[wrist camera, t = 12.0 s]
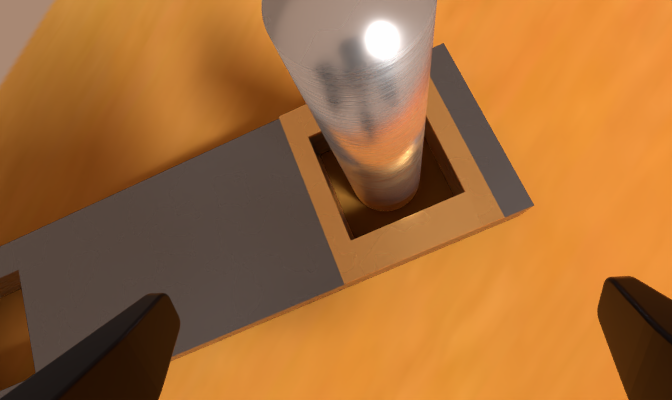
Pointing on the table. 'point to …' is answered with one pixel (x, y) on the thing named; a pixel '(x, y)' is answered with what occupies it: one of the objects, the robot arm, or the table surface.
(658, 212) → the table surface
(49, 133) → the table surface
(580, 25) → the table surface
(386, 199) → the peg
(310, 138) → the rail
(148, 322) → the robot arm
